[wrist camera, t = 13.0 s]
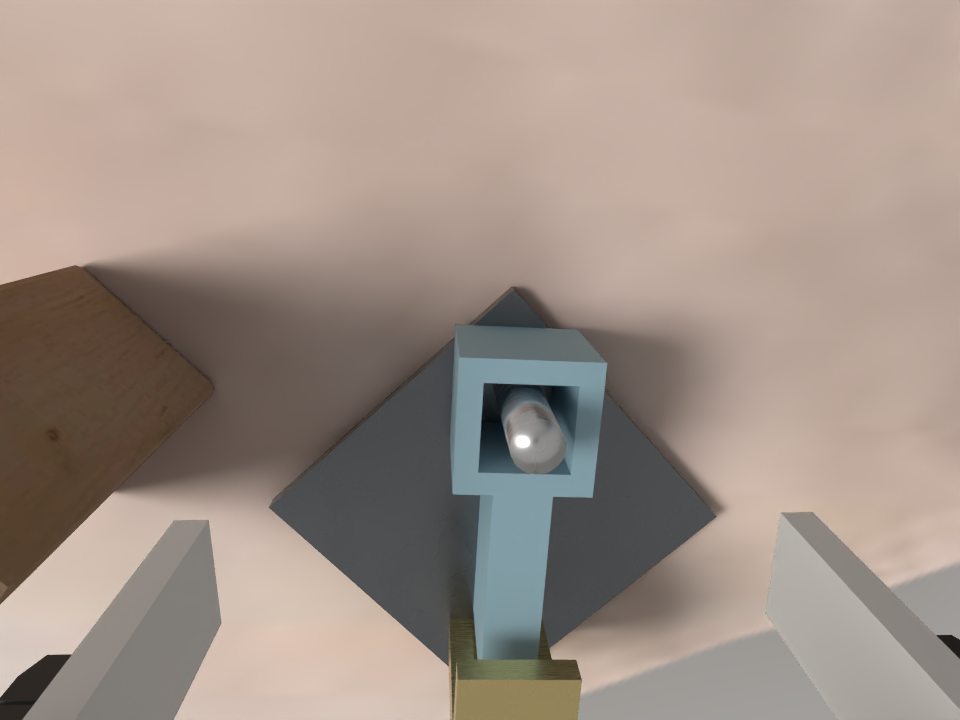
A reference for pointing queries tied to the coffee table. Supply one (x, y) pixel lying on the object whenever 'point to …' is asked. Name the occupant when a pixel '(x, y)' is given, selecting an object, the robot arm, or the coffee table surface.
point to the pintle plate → (454, 522)
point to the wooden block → (76, 408)
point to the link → (519, 470)
